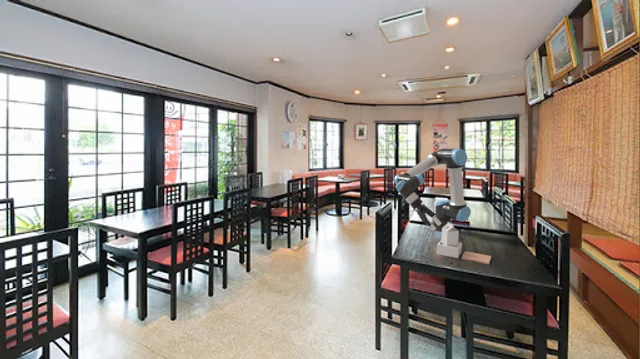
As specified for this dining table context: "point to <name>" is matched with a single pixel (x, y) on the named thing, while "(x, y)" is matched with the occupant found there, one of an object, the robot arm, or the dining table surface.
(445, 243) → the milk carton
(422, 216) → the robot arm
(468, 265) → the dining table surface
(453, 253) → the white open box
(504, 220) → the dining table surface
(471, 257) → the terracotta tile
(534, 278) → the dining table surface
